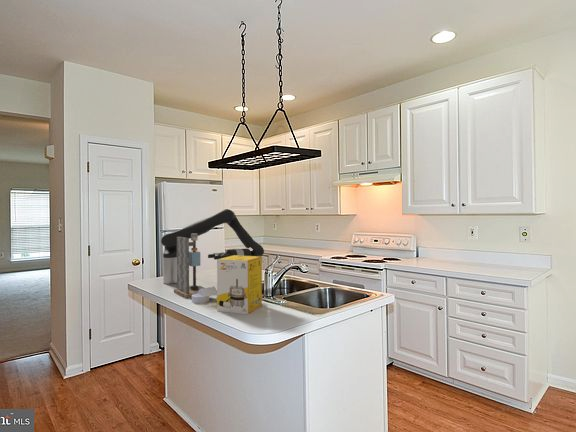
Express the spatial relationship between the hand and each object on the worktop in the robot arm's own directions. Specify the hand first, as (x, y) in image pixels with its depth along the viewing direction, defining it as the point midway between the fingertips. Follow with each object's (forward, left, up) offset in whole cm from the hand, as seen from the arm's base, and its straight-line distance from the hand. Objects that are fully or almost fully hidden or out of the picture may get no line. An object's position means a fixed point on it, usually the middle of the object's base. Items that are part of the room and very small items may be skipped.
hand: (211, 257), depth 215 cm
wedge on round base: (+23, -6, -21) cm, 31 cm away
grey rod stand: (+4, -10, -20) cm, 23 cm away
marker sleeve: (+4, -10, -4) cm, 11 cm away
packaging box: (+44, +10, -21) cm, 49 cm away
